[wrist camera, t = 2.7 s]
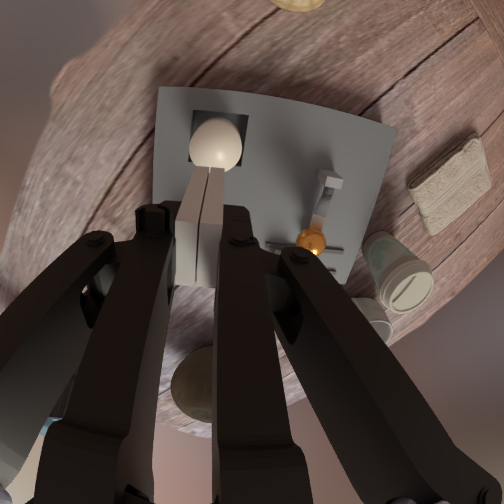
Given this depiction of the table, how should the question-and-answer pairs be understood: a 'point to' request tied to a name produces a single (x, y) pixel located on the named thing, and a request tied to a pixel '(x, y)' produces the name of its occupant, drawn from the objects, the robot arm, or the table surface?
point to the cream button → (216, 144)
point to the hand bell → (297, 5)
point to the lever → (316, 225)
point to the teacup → (375, 317)
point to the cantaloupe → (194, 385)
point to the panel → (280, 165)
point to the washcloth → (451, 184)
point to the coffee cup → (397, 273)
